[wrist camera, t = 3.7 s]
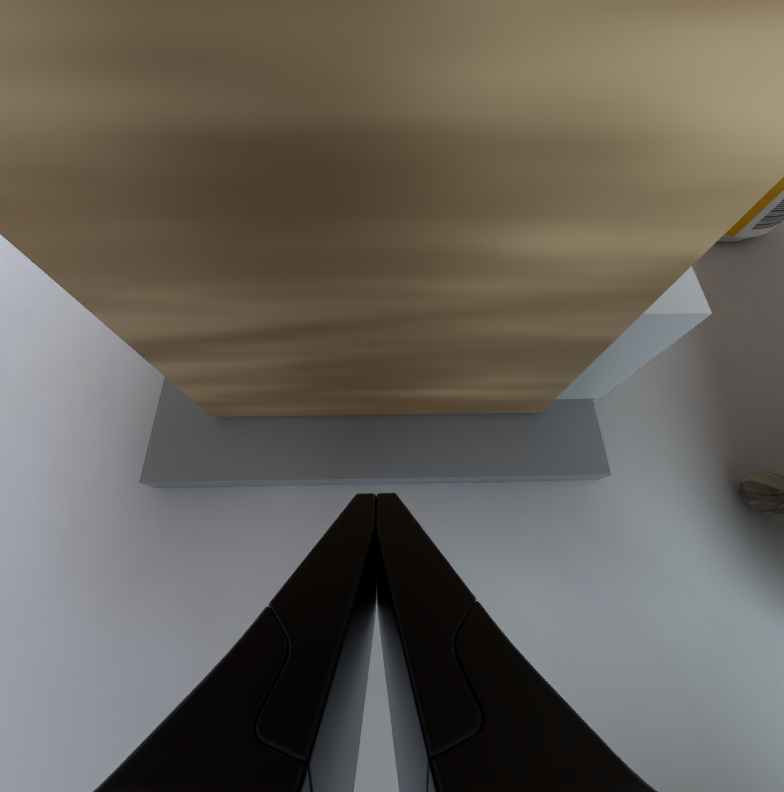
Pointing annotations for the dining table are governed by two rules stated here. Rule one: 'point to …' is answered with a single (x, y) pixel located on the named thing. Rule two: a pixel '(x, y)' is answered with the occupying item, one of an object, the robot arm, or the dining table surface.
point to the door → (381, 183)
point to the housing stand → (415, 429)
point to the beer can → (759, 216)
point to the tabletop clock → (763, 492)
